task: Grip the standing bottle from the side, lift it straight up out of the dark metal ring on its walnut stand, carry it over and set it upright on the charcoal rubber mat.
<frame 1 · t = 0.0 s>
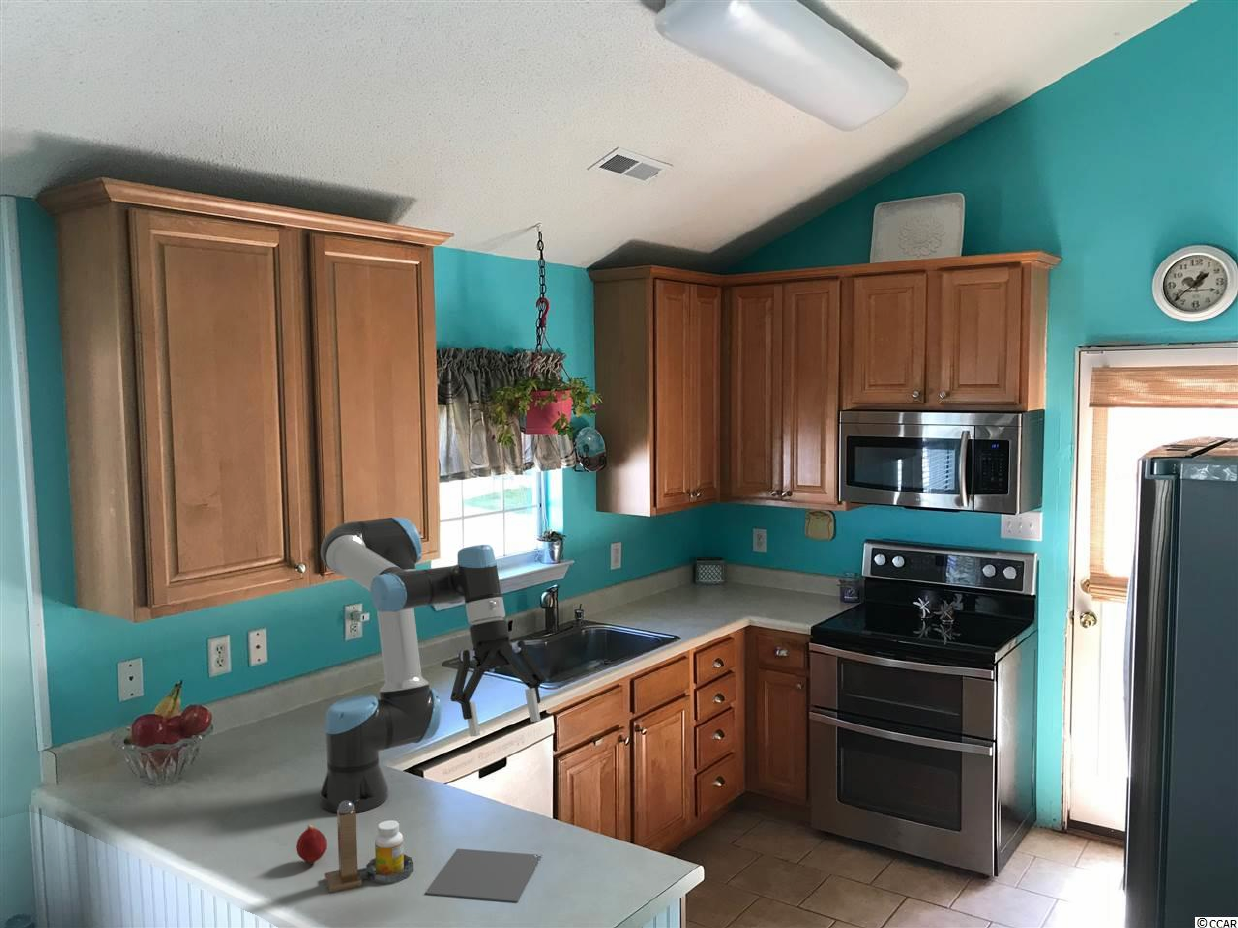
hand: (506, 728, 192), 28 cm above the counter, tool tilted 20°, fingers open, 13 cm apart
onion: (312, 864, 196), on the counter
supplement bottle: (390, 873, 192), resting in ring stand
mat: (485, 874, 190), on the counter
ring stand: (389, 871, 192), on the counter
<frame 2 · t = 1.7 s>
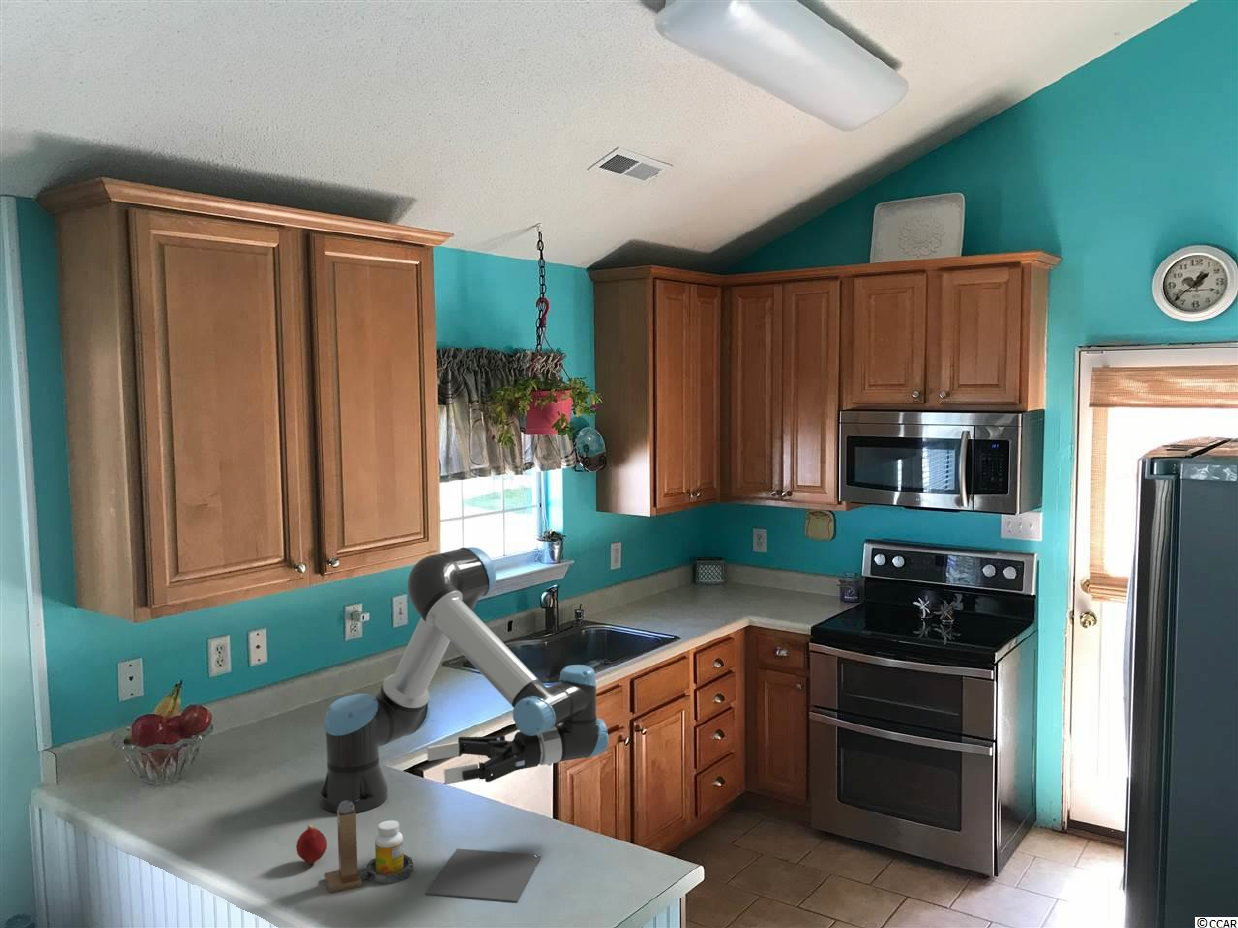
hand: (435, 765, 194), 20 cm above the counter, tool horizontal, fingers open, 13 cm apart
nothing on the counter moved.
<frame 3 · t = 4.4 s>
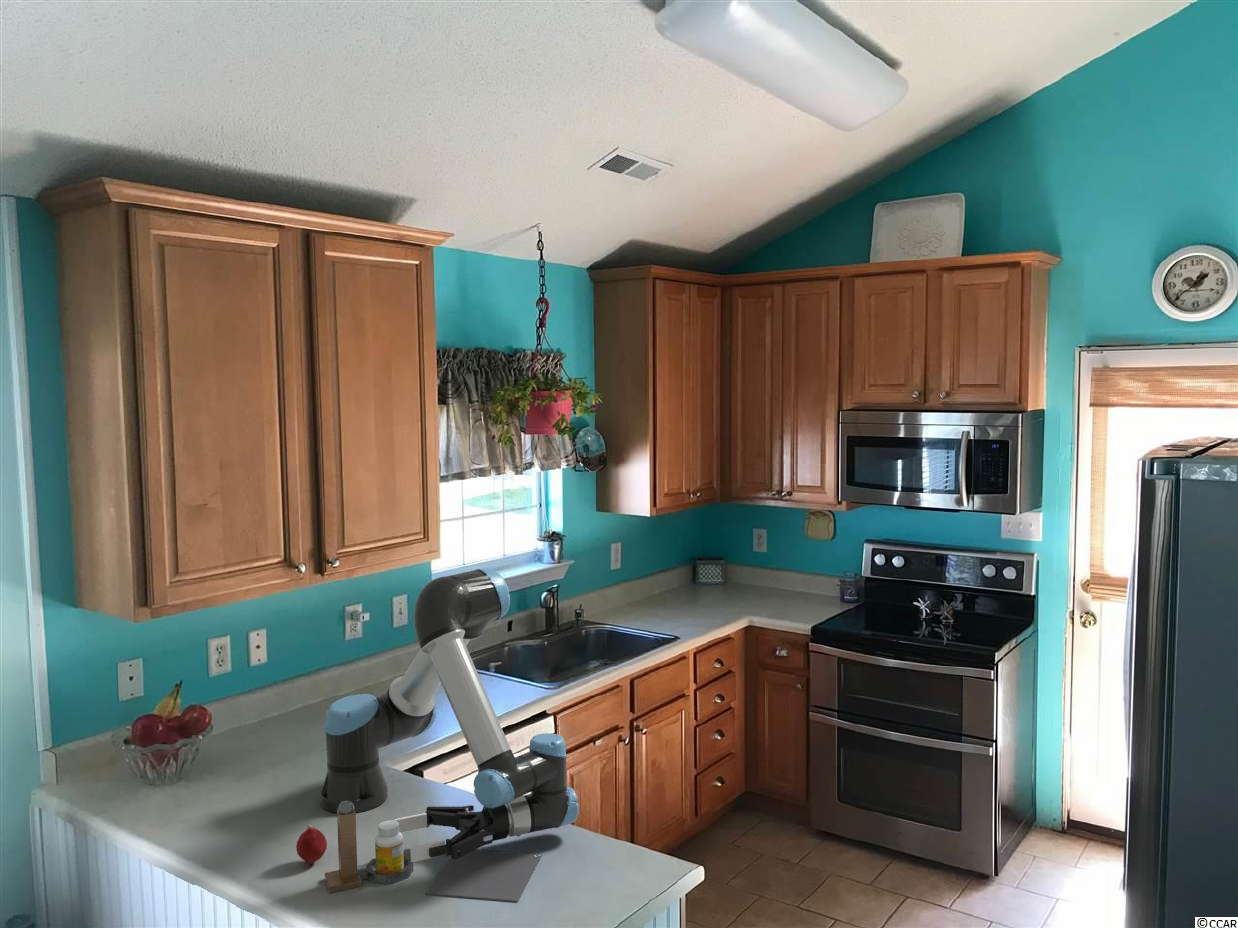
hand: (402, 839, 192), 6 cm above the counter, tool horizontal, fingers open, 13 cm apart
nothing on the counter moved.
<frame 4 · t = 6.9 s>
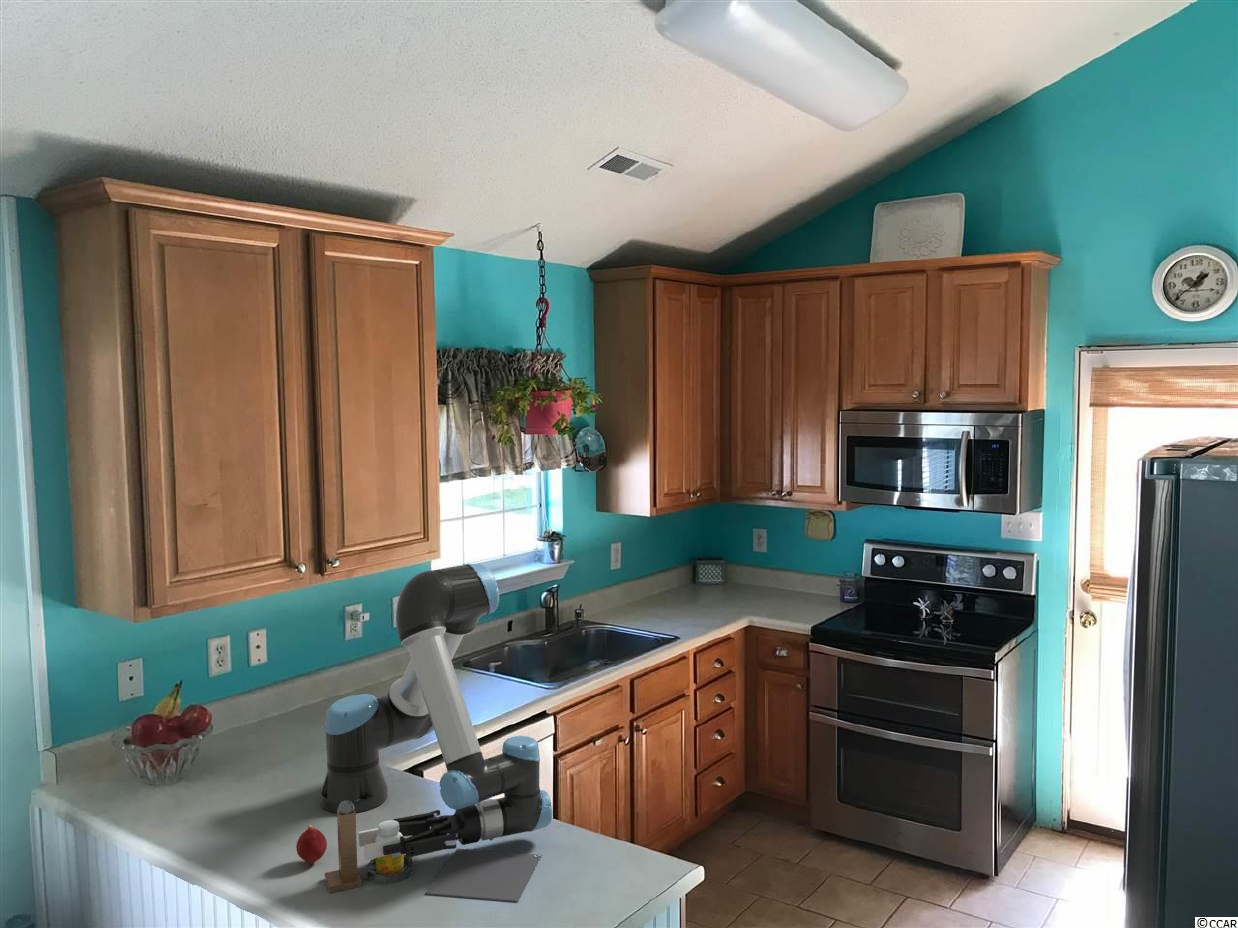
hand: (362, 845, 189), 7 cm above the counter, tool horizontal, fingers closed on supplement bottle, 5 cm apart
supplement bottle: (390, 873, 192), resting in ring stand, touching gripper
everything else where it was.
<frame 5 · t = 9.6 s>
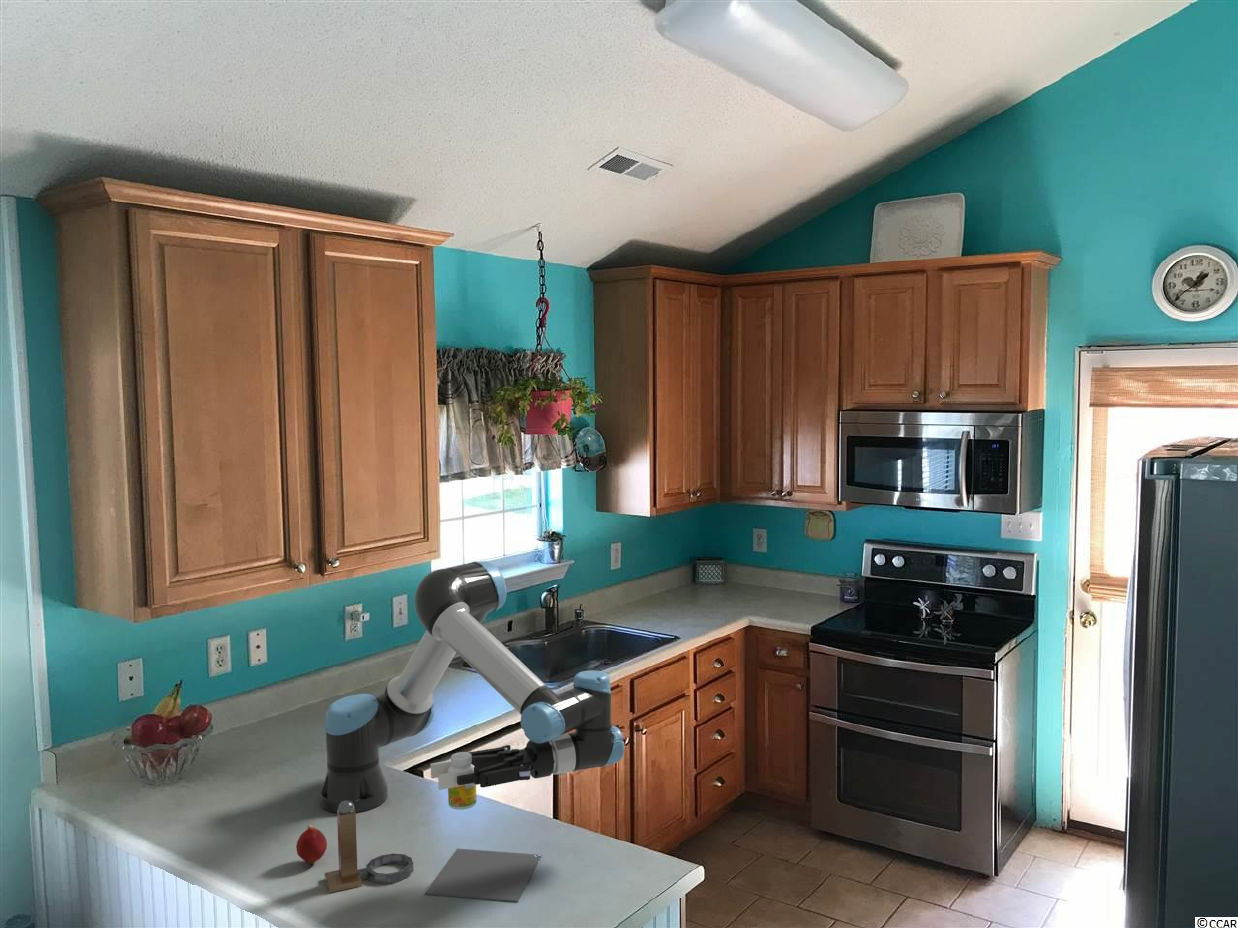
hand: (435, 776, 186), 21 cm above the counter, tool horizontal, fingers closed on supplement bottle, 5 cm apart
supplement bottle: (462, 805, 189), point 14 cm above the counter, touching gripper
everything else where it was.
when the fingers open (8 cm above the counter, at t = 12.8 s): supplement bottle drops 1 cm, resting on mat.
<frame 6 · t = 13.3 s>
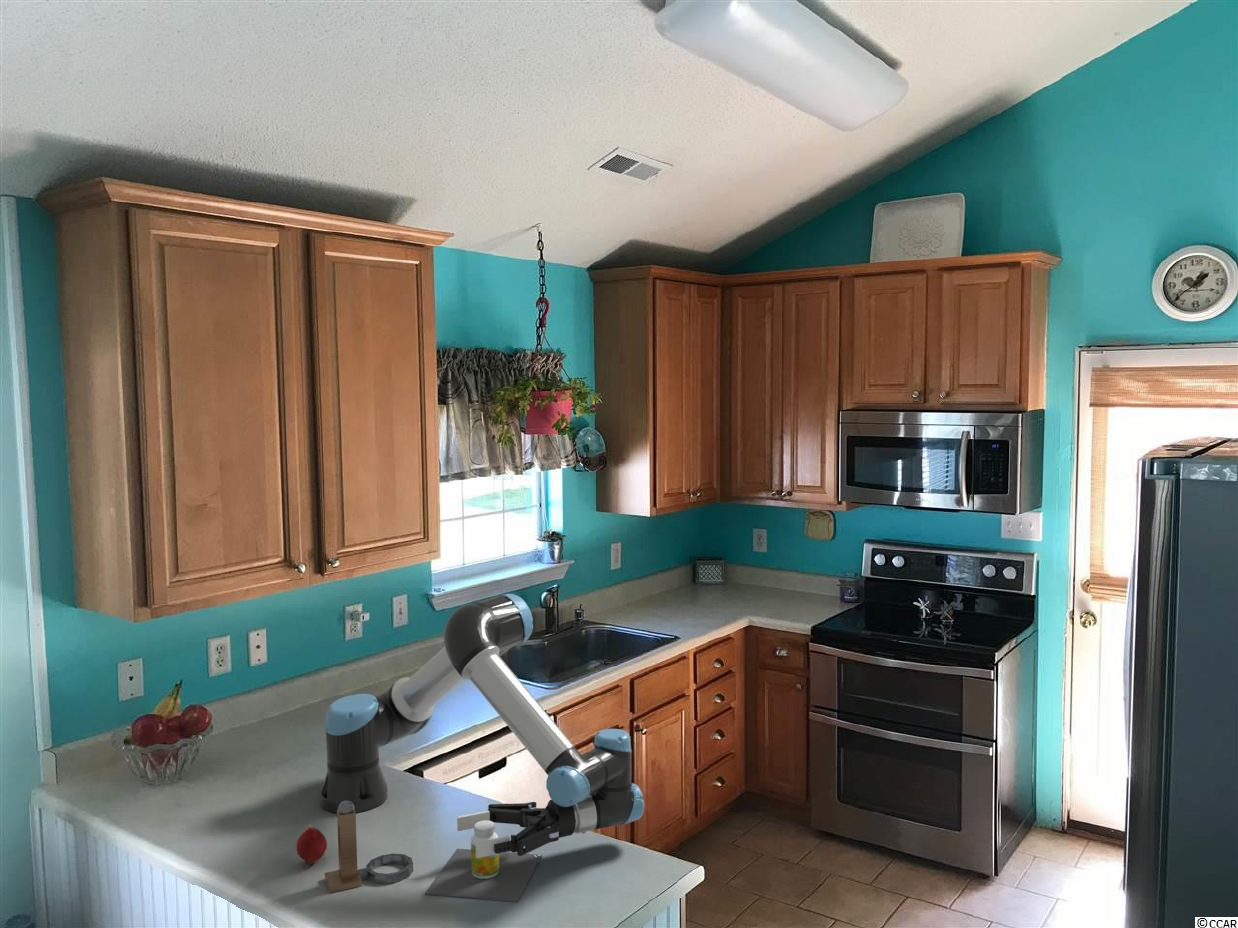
hand: (466, 836, 188), 8 cm above the counter, tool horizontal, fingers open, 12 cm apart
supplement bottle: (485, 873, 190), resting on mat
everything else where it was.
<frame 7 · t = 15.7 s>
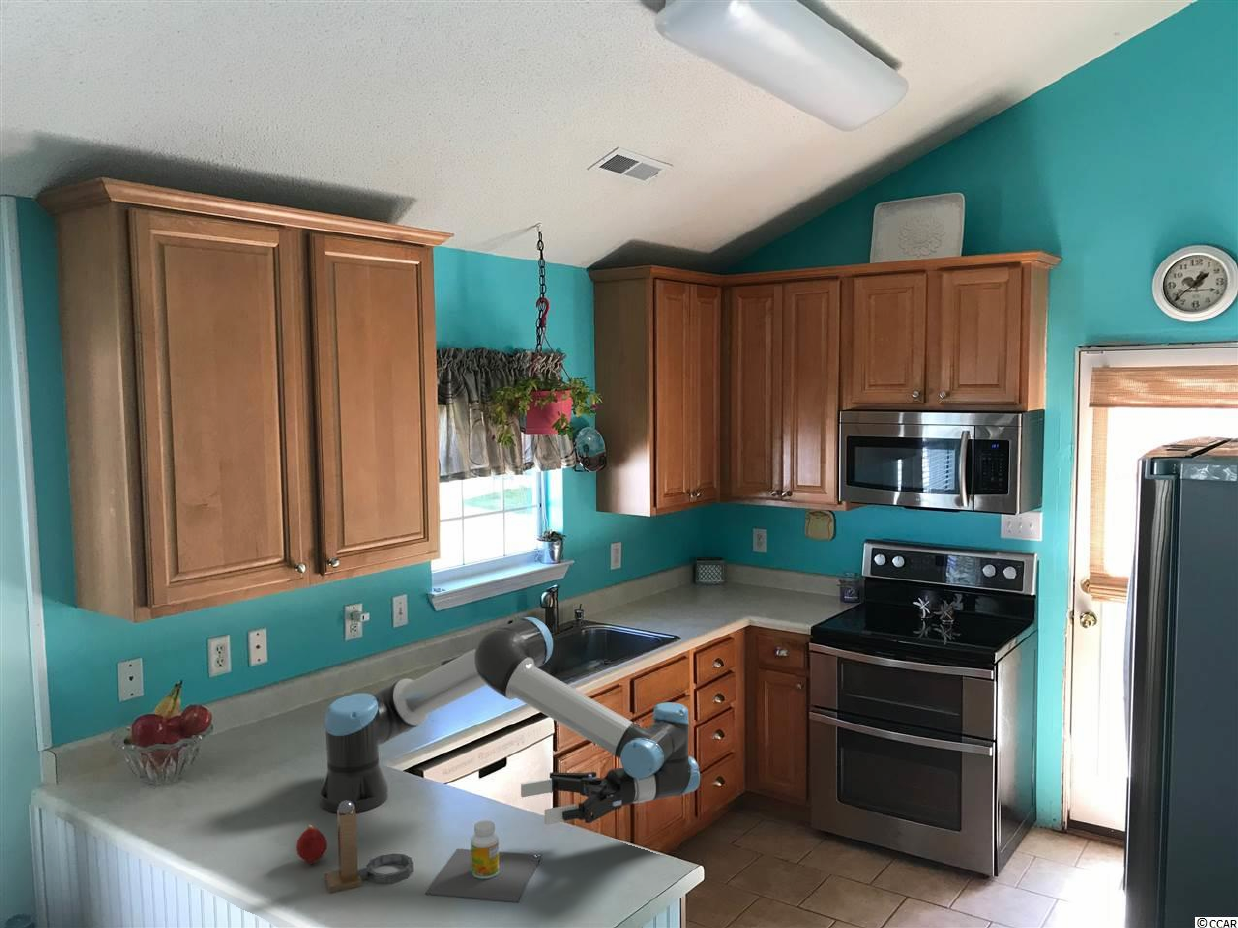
hand: (532, 803, 193), 13 cm above the counter, tool horizontal, fingers open, 13 cm apart
nothing on the counter moved.
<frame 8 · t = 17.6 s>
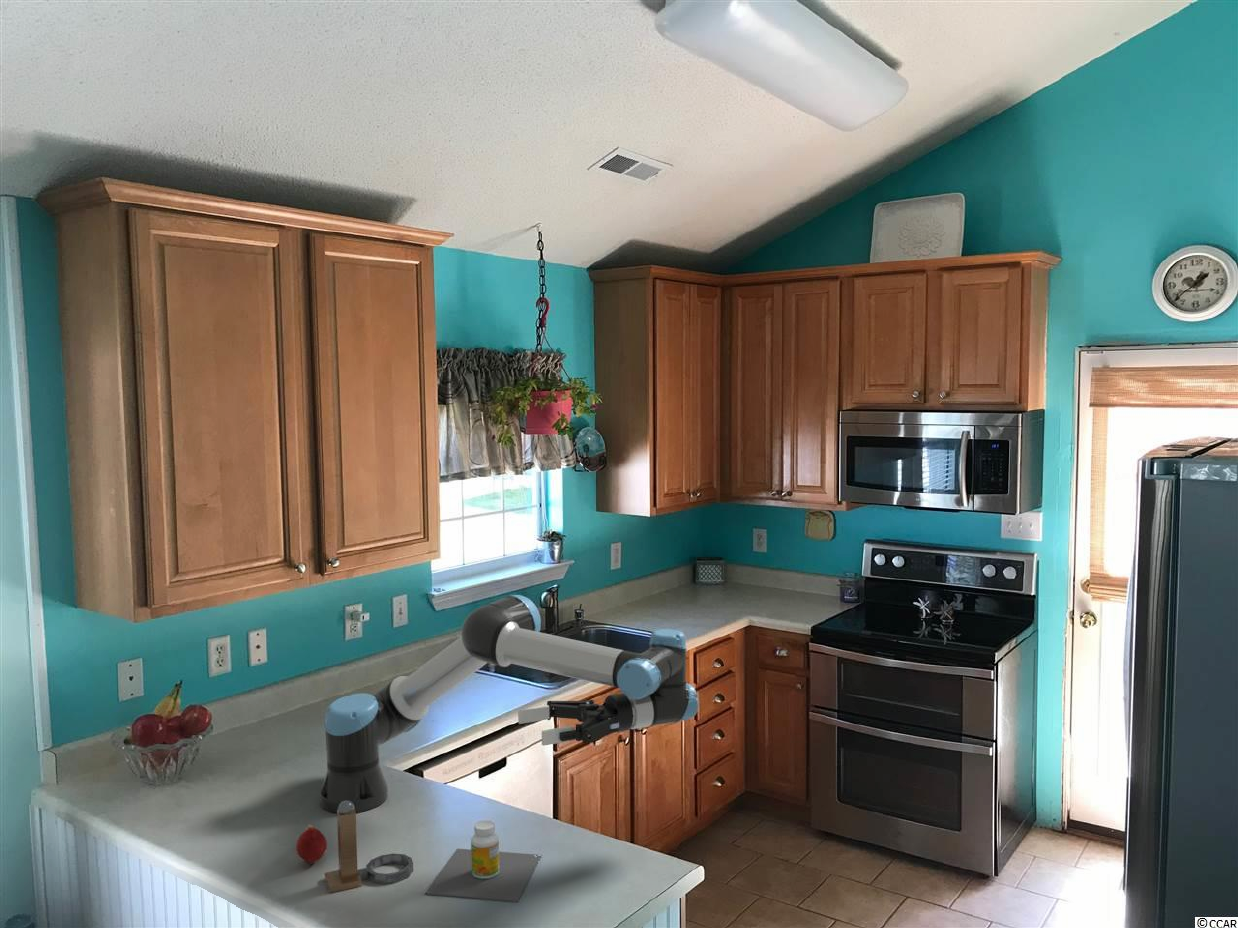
hand: (530, 727, 192), 28 cm above the counter, tool horizontal, fingers open, 13 cm apart
nothing on the counter moved.
at the end: supplement bottle inside the target area on the mat (0.1 cm from its centre), point 0.1 cm above the mat's base; supplement bottle tilted 0°; the gripper is holding nothing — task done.
